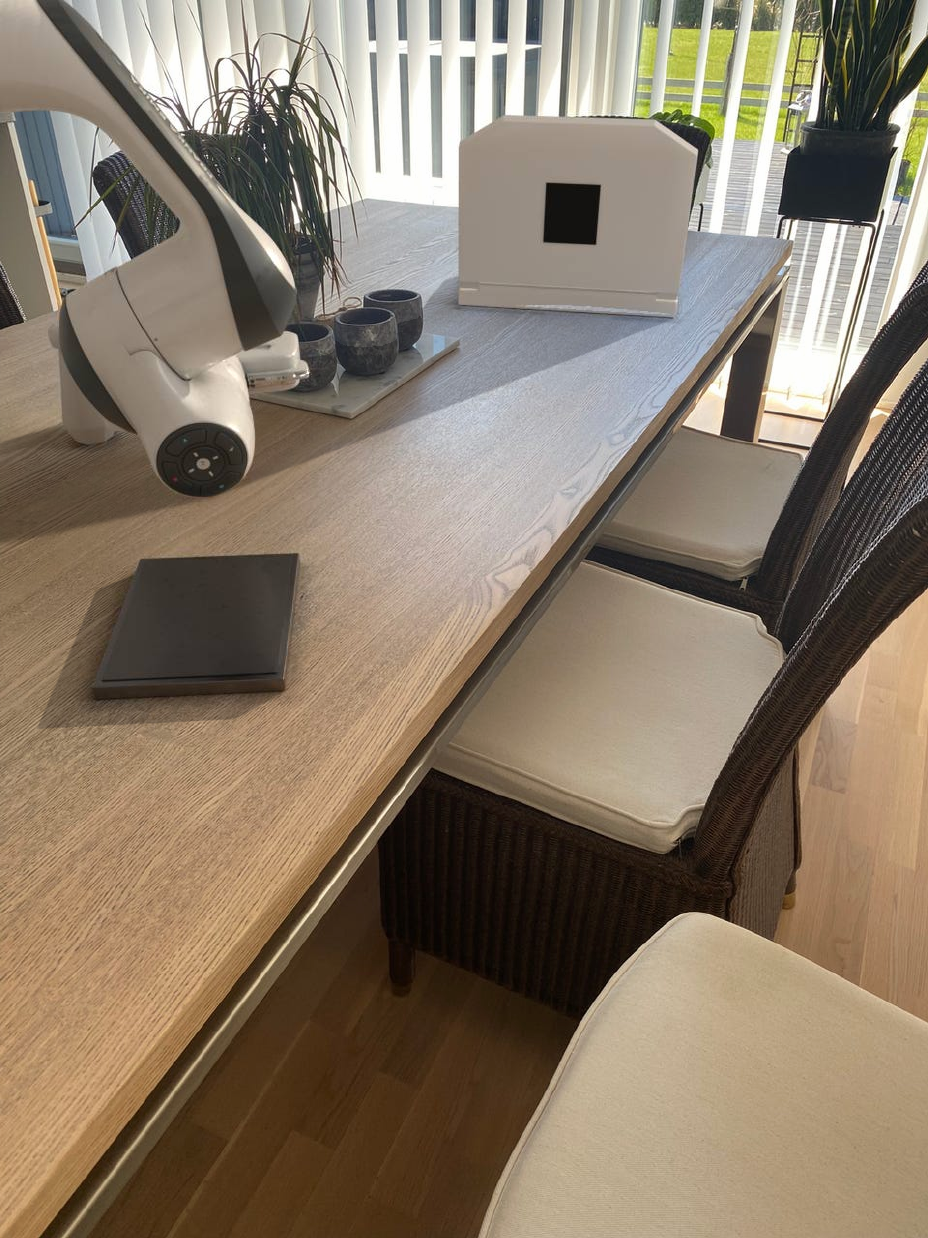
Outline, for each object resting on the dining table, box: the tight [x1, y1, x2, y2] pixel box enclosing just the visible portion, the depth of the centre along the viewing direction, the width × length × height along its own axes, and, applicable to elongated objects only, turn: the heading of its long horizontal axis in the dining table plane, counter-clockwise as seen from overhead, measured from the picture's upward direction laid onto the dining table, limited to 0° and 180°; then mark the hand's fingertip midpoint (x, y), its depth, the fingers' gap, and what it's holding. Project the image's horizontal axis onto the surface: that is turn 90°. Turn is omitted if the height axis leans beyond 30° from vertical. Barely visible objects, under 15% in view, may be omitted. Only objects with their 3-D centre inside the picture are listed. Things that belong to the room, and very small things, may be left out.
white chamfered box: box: [458, 114, 699, 318], centre depth 147 cm, size 33×24×26 cm
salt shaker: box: [47, 321, 115, 446], centre depth 104 cm, size 6×6×13 cm
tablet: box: [91, 552, 301, 700], centre depth 77 cm, size 14×18×1 cm
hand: (194, 339), depth 97 cm, fingers closed on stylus, 3 cm apart
